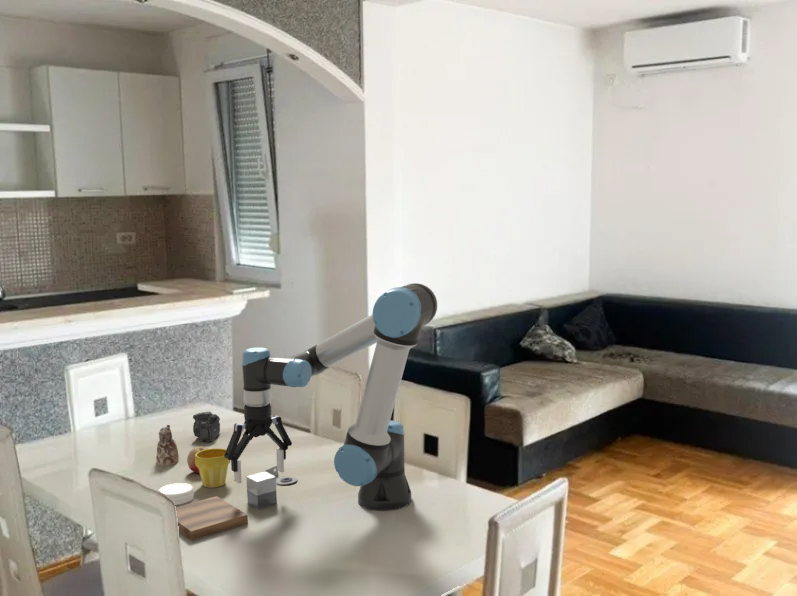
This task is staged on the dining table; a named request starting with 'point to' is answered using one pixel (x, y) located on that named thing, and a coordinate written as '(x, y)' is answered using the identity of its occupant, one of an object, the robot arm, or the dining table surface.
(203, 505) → the cutting board
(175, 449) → the figurine
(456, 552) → the dining table surface
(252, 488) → the block
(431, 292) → the robot arm
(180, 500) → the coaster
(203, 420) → the camera
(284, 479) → the bracket
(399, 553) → the dining table surface
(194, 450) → the fruit
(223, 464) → the plant pot
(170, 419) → the dining table surface
